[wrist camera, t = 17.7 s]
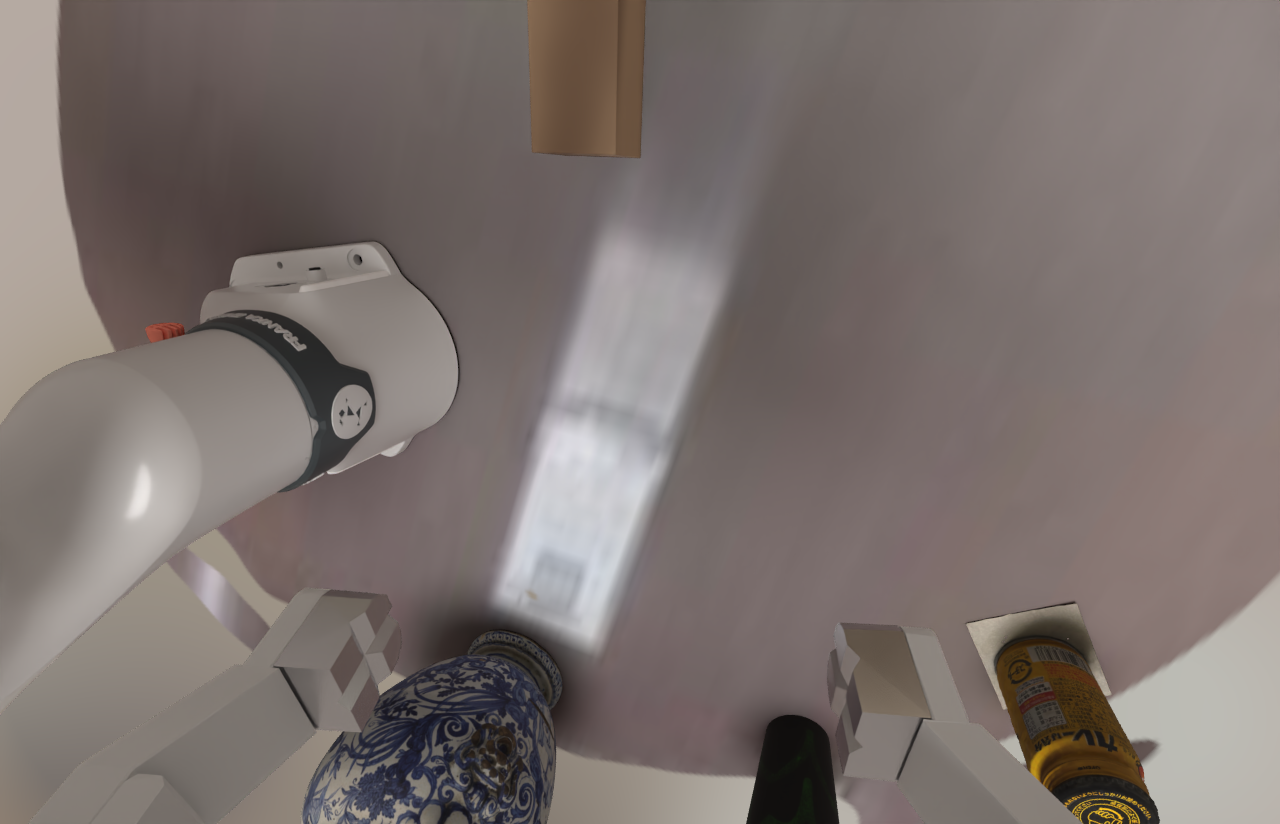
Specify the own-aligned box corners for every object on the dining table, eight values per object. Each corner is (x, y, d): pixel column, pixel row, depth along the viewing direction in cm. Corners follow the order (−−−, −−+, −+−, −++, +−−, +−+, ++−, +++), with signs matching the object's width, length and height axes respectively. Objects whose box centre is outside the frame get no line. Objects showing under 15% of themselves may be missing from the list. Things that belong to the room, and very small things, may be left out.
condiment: (1002, 707, 46) (1057, 866, 36) (965, 622, 45) (1011, 761, 34) (1110, 692, 44) (1205, 860, 33) (1074, 600, 42) (1162, 745, 31)
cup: (779, 777, 55) (770, 920, 45) (738, 716, 54) (718, 849, 44) (857, 762, 52) (867, 912, 42) (816, 697, 51) (814, 835, 40)
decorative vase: (524, 771, 66) (337, 1133, 40) (402, 658, 65) (135, 953, 40) (648, 689, 56) (504, 1093, 31) (506, 555, 56) (242, 857, 30)
